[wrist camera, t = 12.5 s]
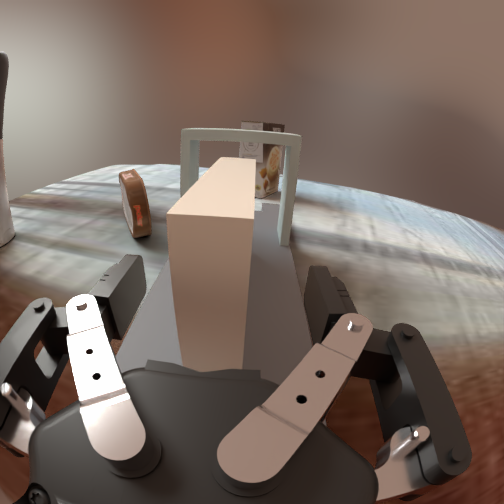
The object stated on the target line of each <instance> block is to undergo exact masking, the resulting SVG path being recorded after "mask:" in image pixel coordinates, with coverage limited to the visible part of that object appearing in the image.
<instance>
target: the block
mask: <svg viewBox="0 0 504 504" xmlns="http://www.w3.org/2000/svg"><path fill="white" fill-rule="evenodd" d="M255 173H256V159H246V158H227V157H221V158H220V159H219V160H218V161H217V162H216V163H215V164H213V166H211V168H209V169H208V170H207V171H206V172H205V173H204V174H203V175H202V176H201V177H200V178H199V180H198V181H197V182H196V183H195V184H194V185H193V186H192V187H191V188H190V189H189V190H188V191H187V192H186V193H185V194H184V195H183V196H182V197H181V198H180V199H179V200H178V202H177V203H176V204H175V205H174V206H173V207H172V208H171V209H170V210H169V211H168V212H167V214H166V216H167V235H168V250H169V262H170V274H171V284H172V293H173V302H174V310H175V318H176V326H177V333H178V340H179V346H180V352H181V358H182V364H183V366H184V367H187V368H190V369H193V370H196V371H199V372H209V371H217V370H226V369H242V364H243V352H244V339H245V326H246V314H247V301H248V288H249V276H250V263H251V250H252V238H253V225H254V203H255Z"/></svg>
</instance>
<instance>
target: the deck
mask: <svg viewBox="0 0 504 504" xmlns="http://www.w3.org/2000/svg"><path fill="white" fill-rule="evenodd" d="M279 209H280V204H268V203H262V211H254V225H253V238H252V250H251V263H250V276H249V288H248V301H247V314H246V326H245V339H244V352H243V364H242V369H247V370H260V375H261V378H262V379H266V380H269V381H272V382H274V383H276V384H278V385H281V384H282V383H283V382H284V381H285V379H286V378H287V377H288V376H289V375H290V374H291V373H292V371H293V370H294V369H295V368H296V367H297V365H298V364H299V363H300V362H301V361H302V360H303V358H304V357H305V356H306V355H307V353H308V352H309V351H310V350H311V349H312V342H311V338H310V333H309V328H308V323H307V318H306V314H305V309H304V304H303V300H302V295H301V291H300V286H299V282H298V278H297V273H296V269H295V265H294V260H293V256H292V252H291V248H290V244H289V245H288V246H281V245H280V243H279V237H278V231H277V226H278V217H279ZM148 359H149V360H156V361H162V362H169V363H175V364H178V365H181V366H183V364H182V358H181V352H180V346H179V340H178V333H177V326H176V318H175V310H174V302H173V293H172V284H171V274H170V262H169V258H168V260H167V261H166V263H165V265H164V266H163V268H162V270H161V272H160V273H159V275H158V277H157V279H156V280H155V282H154V284H153V286H152V288H151V289H150V291H149V293H148V295H147V297H146V299H145V300H144V302H143V304H142V306H141V308H140V310H139V312H138V314H137V315H136V317H135V319H134V321H133V323H132V325H131V327H130V329H129V331H128V333H127V335H126V337H125V339H124V341H123V343H122V345H121V347H120V349H119V351H118V353H117V355H116V360H117V362H118V365H119V367H120V370H121V372H122V373H123V372H125V371H128V370H131V369H135V368H141V367H145V366H146V363H147V360H148ZM323 424H324V425H326V418H325V420H324V421H323ZM326 426H327V425H326Z"/></svg>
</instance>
